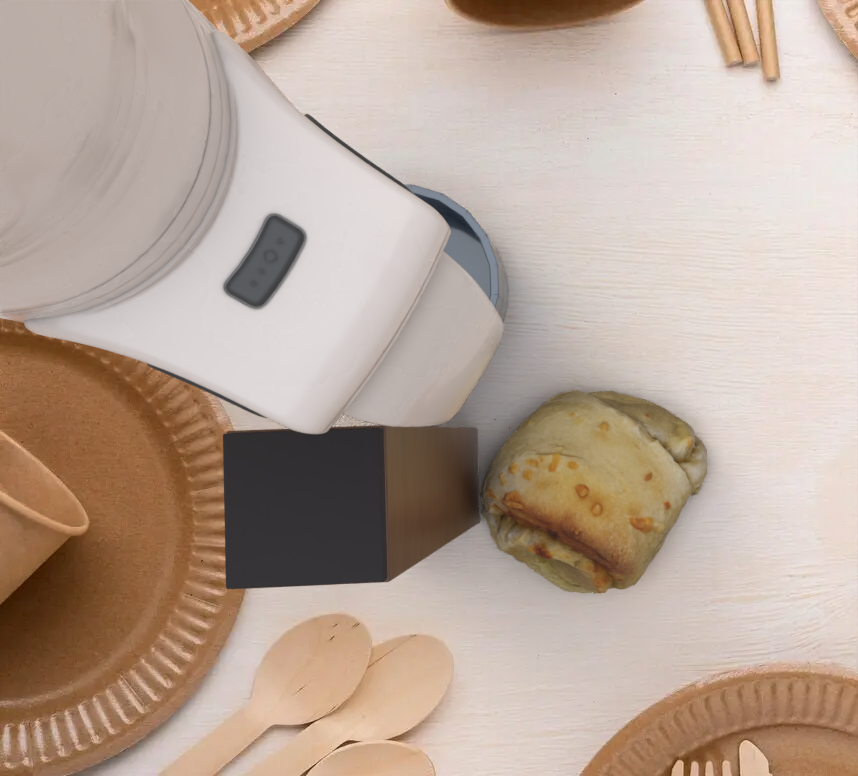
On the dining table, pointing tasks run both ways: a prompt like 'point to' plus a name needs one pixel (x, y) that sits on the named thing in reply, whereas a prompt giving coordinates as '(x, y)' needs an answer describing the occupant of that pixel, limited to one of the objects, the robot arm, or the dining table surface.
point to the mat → (304, 508)
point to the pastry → (592, 488)
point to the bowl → (470, 247)
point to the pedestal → (424, 490)
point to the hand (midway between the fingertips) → (264, 244)
